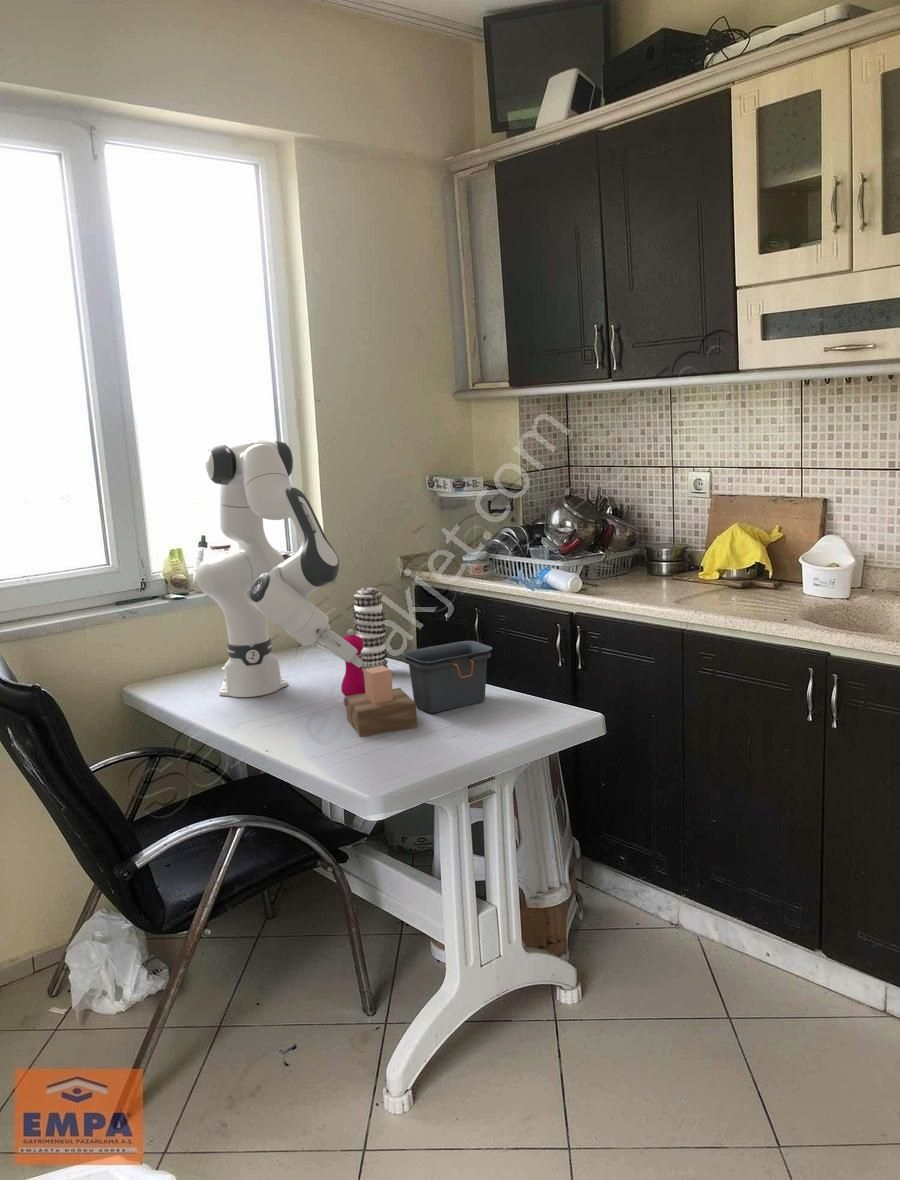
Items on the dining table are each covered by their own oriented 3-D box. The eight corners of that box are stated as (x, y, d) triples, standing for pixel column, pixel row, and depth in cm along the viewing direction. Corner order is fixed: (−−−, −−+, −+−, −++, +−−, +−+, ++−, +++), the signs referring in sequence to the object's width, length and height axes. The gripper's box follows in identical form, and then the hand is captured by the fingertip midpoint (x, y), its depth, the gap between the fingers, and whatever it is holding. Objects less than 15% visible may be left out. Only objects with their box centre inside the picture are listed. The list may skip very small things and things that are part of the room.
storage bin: (471, 690, 253) (468, 638, 251) (504, 703, 240) (502, 648, 238) (401, 706, 243) (397, 652, 240) (432, 722, 230) (428, 664, 227)
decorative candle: (351, 674, 276) (344, 589, 271) (378, 667, 281) (372, 584, 276) (368, 680, 268) (361, 593, 264) (395, 673, 274) (389, 588, 269)
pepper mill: (366, 708, 243) (360, 632, 239) (339, 708, 244) (332, 632, 240) (373, 700, 250) (368, 625, 246) (347, 699, 251) (341, 626, 247)
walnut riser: (347, 719, 235) (345, 696, 234) (401, 710, 239) (399, 687, 238) (360, 736, 222) (358, 712, 221) (417, 727, 226) (415, 703, 225)
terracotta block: (365, 699, 231) (363, 669, 229) (384, 695, 233) (382, 665, 232) (374, 704, 226) (371, 673, 225) (393, 699, 229) (391, 669, 227)
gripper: (335, 623, 210) (378, 658, 216) (303, 608, 228) (344, 641, 234) (318, 646, 209) (362, 681, 215) (287, 629, 226) (328, 662, 233)
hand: (352, 660), depth 225 cm, fingers open, 8 cm apart
